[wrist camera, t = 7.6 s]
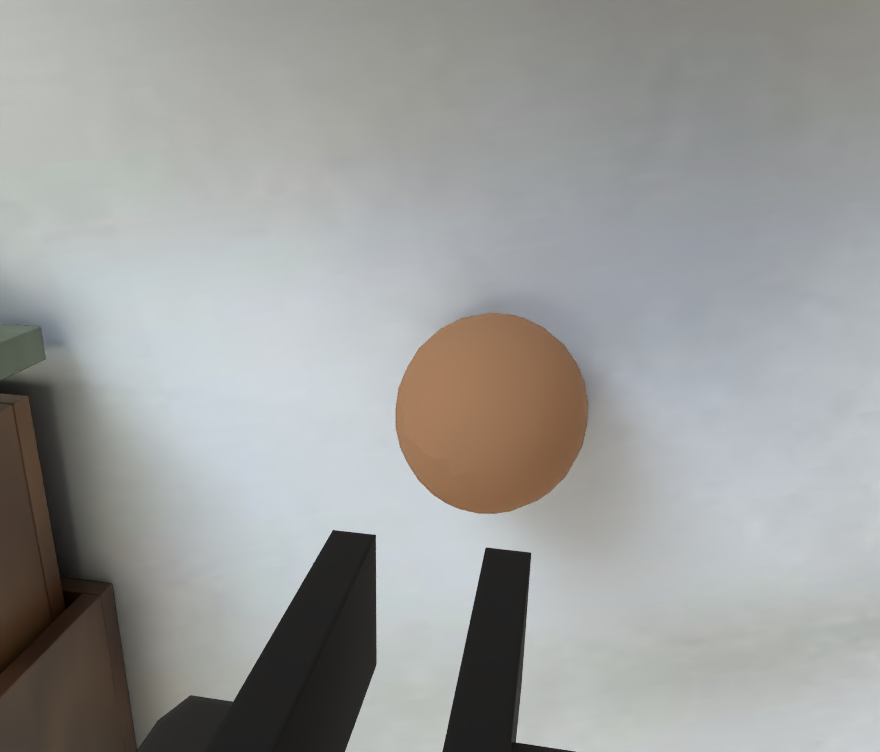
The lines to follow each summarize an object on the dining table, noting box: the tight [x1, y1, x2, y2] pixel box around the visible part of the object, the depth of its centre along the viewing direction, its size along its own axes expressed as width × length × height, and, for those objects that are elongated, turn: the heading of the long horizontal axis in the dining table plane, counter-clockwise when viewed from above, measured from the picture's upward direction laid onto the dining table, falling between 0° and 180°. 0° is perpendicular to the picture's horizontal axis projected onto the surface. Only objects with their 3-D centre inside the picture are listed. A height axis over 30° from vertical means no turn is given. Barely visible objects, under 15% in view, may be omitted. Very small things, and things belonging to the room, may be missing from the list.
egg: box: [396, 313, 588, 514], centre depth 21 cm, size 5×5×7 cm
